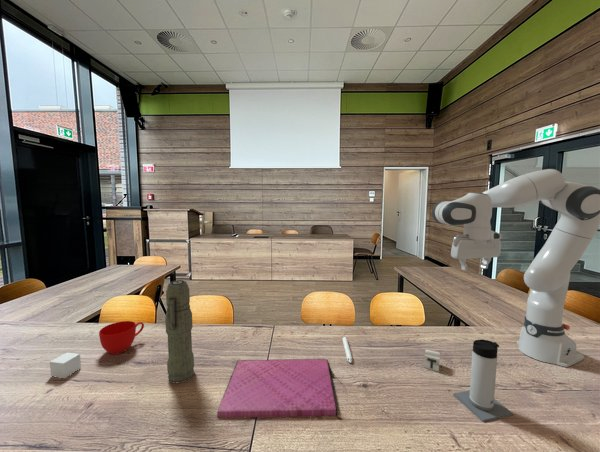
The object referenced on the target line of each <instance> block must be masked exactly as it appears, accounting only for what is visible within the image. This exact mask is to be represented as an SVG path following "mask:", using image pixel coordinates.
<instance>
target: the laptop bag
mask: <svg viewBox="0 0 600 452" xmlns="http://www.w3.org/2000/svg"><path fill="white" fill-rule="evenodd" d="M334 377H335V378H336V379H337V381H338V382H339V383H340V384H341V385H342V386H343V387H344V388H345V391H346V392H347V389H346V387H345V385H344V384H343V383H342V382H341V381H340V380H339V379H338V378H337V376H336V375H335V373H334V372H333V370H332V368H331V367H330V366H329V359H327V358H322V359H321V358H306V359H305V358H301V359H300V358H296V359H295V358H292V359H285V358H283V359H243V360H240V359H239V360H236V363H235V366H234V368H233V371H232V373H231V376H230V378H229V381H228V384H227V386H226V388H225V390H224V394H223V396H222V398H221V401H220V403H219V406H218V409H217V413H216V415H217V417H216V418H294V417H295V418H297V417H298V418H300V417H301V418H302V417H305V418H306V417H338V414H339V413H338V405H337V404H338V403H337V399H336V394H335V389H334V384H333V383H334V382H333V379H332V378H334ZM346 395H347V396H349V395H348V393H346ZM345 400H346V402H348V399H345Z"/></svg>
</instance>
